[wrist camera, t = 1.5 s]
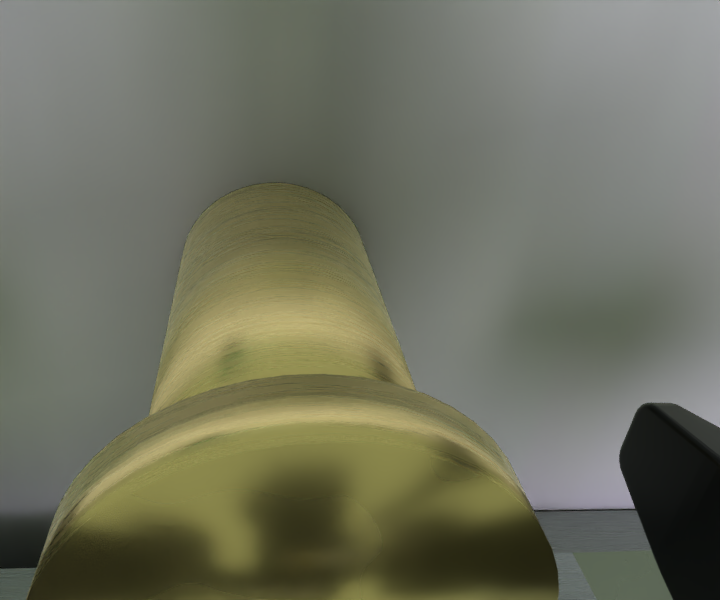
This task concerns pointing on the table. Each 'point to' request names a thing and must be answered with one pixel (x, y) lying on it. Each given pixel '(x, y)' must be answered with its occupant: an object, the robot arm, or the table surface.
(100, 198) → the table surface
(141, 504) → the brass pin
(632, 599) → the plate with square hole
